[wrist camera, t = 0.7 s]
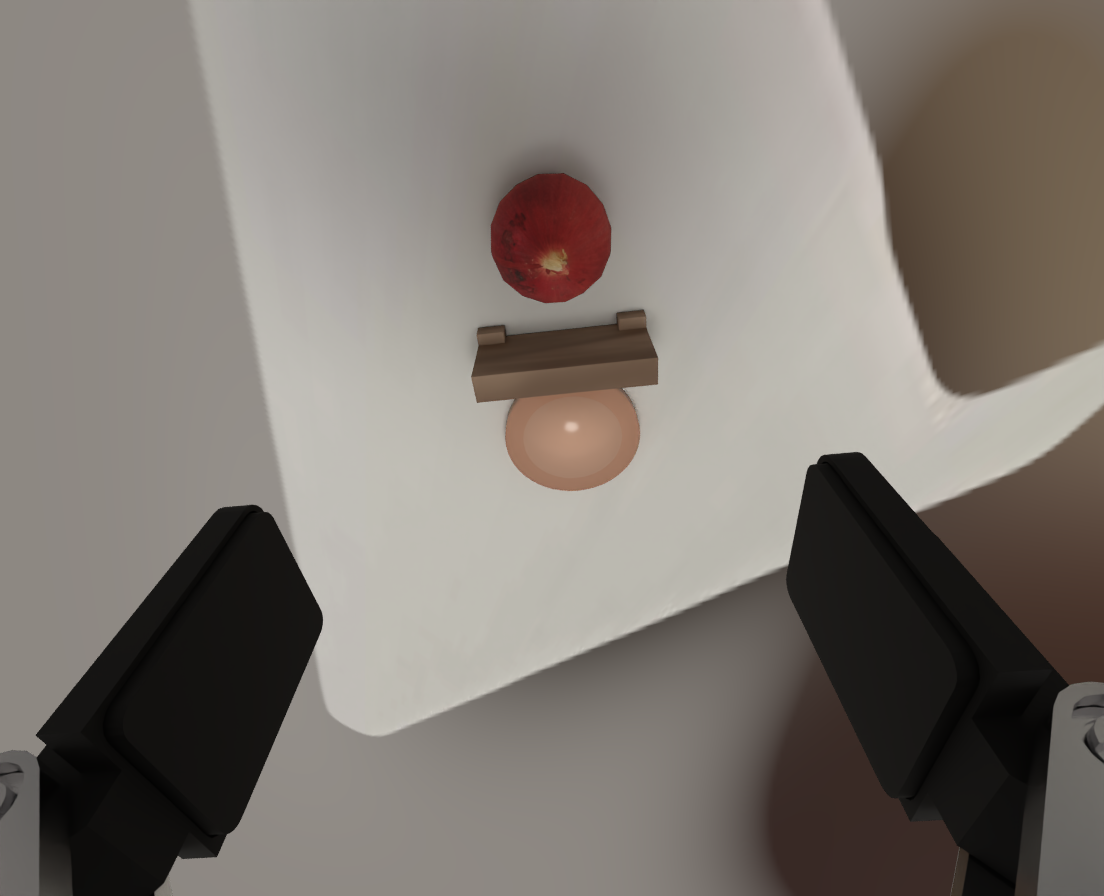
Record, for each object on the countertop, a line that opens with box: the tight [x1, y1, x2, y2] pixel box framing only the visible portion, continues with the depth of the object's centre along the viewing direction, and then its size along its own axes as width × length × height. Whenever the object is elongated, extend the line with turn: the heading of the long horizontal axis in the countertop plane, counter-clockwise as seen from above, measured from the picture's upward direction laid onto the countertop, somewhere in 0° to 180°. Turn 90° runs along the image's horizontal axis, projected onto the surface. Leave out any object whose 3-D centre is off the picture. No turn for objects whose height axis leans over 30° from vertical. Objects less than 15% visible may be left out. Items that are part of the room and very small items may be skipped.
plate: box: [505, 388, 640, 491], centre depth 36 cm, size 9×9×1 cm
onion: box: [491, 173, 611, 303], centre depth 26 cm, size 6×6×8 cm
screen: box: [471, 310, 658, 403], centre depth 31 cm, size 3×10×5 cm, turn 96°
